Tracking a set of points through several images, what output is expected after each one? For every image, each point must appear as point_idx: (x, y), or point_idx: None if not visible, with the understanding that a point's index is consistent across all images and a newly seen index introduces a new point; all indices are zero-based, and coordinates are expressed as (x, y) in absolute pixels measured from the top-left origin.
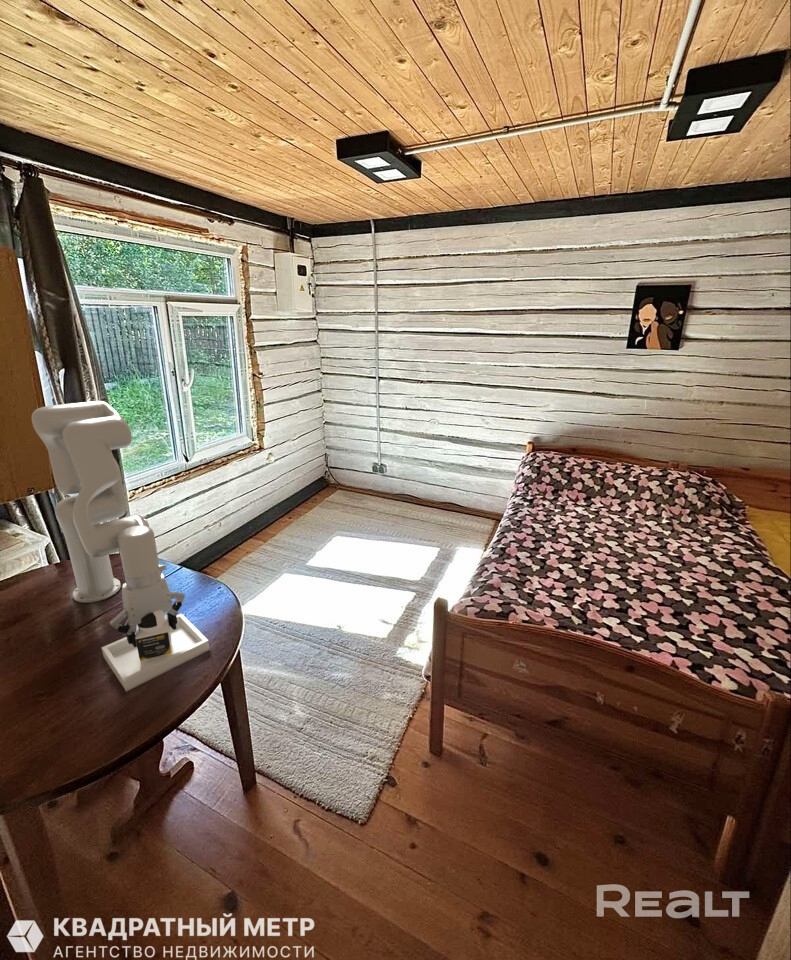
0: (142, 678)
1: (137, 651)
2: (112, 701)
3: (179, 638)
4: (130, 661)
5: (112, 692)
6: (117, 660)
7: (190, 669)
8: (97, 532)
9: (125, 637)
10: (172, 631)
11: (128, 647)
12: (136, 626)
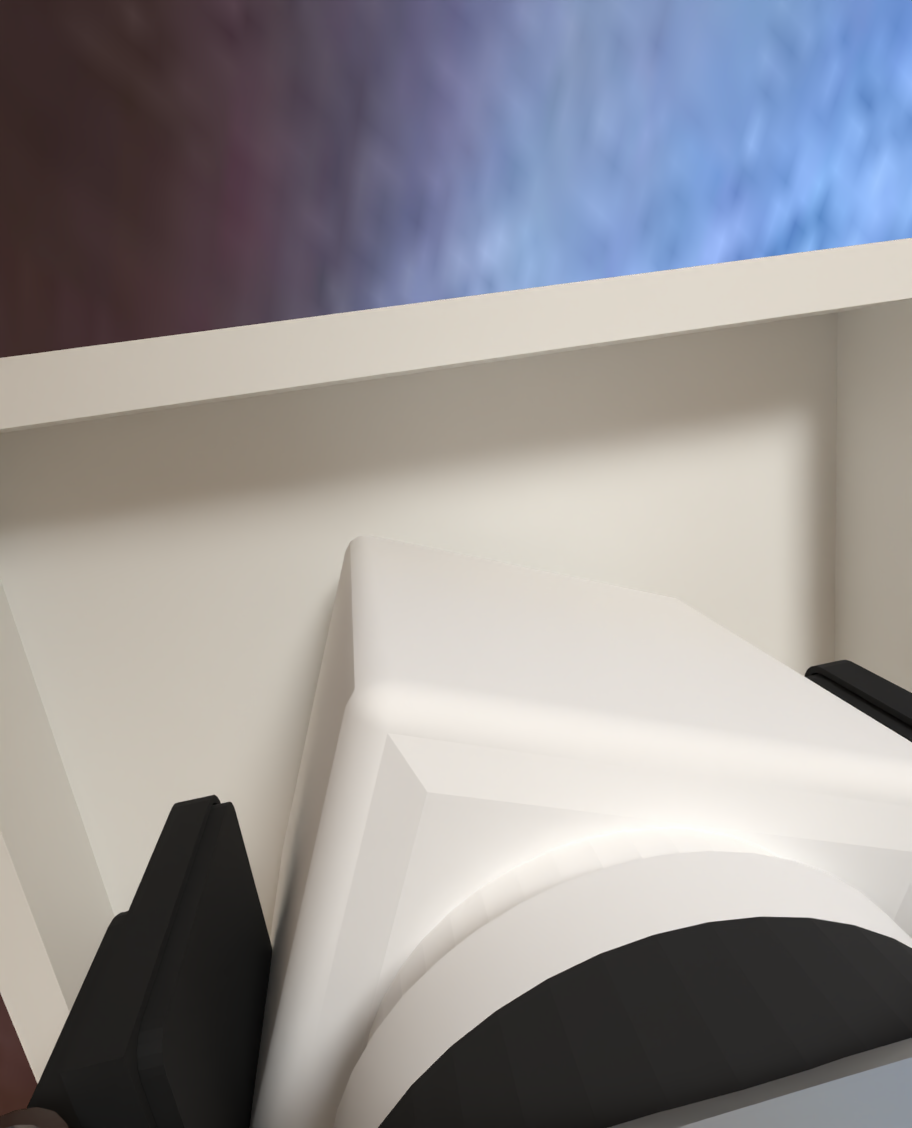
0: None
1: (292, 560)
2: (3, 1106)
3: (726, 590)
4: (198, 697)
5: (3, 1007)
6: (57, 601)
7: None
8: None
9: (154, 347)
10: (715, 410)
11: (203, 413)
12: (313, 870)
